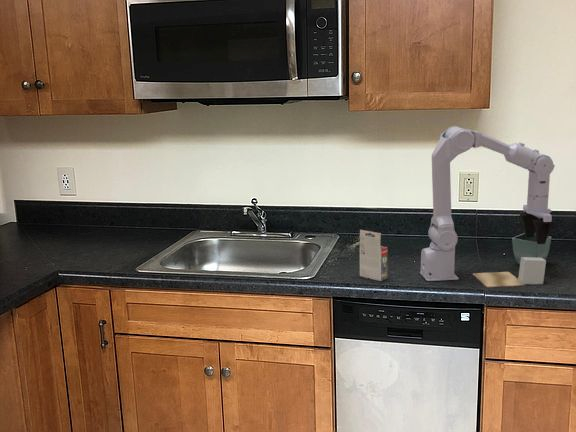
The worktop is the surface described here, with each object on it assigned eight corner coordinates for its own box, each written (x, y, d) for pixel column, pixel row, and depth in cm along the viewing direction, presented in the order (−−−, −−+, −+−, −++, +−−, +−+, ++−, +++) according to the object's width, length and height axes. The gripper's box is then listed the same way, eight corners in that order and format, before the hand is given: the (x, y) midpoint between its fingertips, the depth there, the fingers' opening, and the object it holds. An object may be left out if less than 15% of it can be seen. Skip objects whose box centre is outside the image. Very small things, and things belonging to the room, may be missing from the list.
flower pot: (509, 265, 203) (511, 237, 201) (523, 259, 209) (524, 232, 207) (537, 271, 197) (539, 242, 195) (550, 264, 203) (552, 236, 201)
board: (486, 287, 184) (487, 286, 184) (472, 274, 196) (472, 273, 196) (525, 285, 185) (525, 284, 185) (508, 272, 196) (508, 271, 196)
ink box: (366, 273, 199) (366, 226, 196) (388, 278, 194) (388, 230, 191) (359, 276, 197) (358, 229, 194) (380, 282, 191) (381, 233, 188)
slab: (522, 283, 185) (525, 260, 184) (517, 280, 188) (521, 257, 186) (542, 284, 186) (546, 260, 184) (538, 281, 188) (541, 257, 187)
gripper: (563, 199, 184) (560, 246, 187) (540, 190, 198) (537, 233, 201) (538, 200, 183) (536, 247, 186) (517, 190, 197) (515, 234, 200)
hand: (535, 240), depth 194 cm, fingers open, 7 cm apart
